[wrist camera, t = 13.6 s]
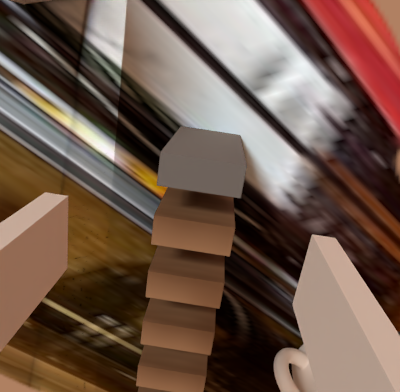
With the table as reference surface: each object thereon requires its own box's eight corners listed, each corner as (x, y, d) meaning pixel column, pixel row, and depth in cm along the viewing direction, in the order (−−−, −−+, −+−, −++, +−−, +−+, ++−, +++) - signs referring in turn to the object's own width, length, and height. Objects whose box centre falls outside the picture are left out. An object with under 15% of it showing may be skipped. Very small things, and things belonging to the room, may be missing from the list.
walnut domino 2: (221, 240, 33) (219, 308, 23) (168, 232, 33) (145, 296, 23) (224, 221, 32) (224, 283, 23) (170, 212, 32) (148, 271, 23)
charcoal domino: (235, 158, 30) (240, 198, 21) (178, 149, 30) (157, 185, 21) (240, 135, 29) (246, 165, 20) (181, 126, 29) (160, 152, 20)
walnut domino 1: (228, 200, 31) (229, 256, 22) (173, 192, 31) (151, 244, 22) (232, 179, 31) (235, 227, 21) (175, 171, 31) (154, 215, 21)
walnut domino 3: (214, 276, 34) (210, 355, 25) (163, 268, 34) (140, 343, 25) (217, 259, 33) (214, 332, 24) (166, 250, 34) (143, 320, 24)
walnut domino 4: (208, 310, 36) (202, 396, 26) (159, 302, 36) (136, 385, 26) (211, 294, 35) (206, 376, 25) (161, 286, 35) (138, 365, 26)
